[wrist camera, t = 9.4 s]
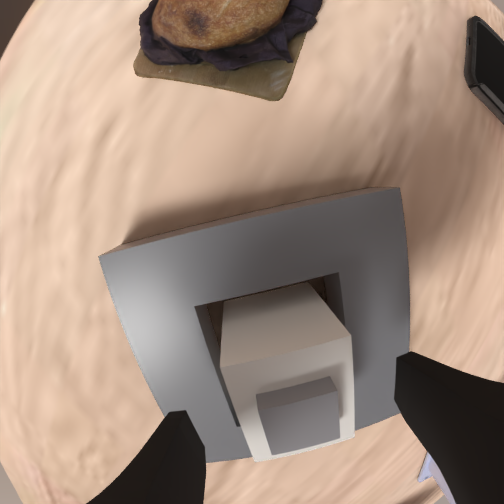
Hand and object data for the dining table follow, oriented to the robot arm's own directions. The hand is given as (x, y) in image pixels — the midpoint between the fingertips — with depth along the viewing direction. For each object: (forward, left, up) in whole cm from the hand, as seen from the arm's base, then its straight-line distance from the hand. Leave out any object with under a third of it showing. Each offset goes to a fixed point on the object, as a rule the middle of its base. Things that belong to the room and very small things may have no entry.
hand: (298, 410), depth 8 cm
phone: (-23, -11, -6) cm, 26 cm away
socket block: (0, 0, -6) cm, 6 cm away
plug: (0, 0, -6) cm, 6 cm away
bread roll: (-2, -17, -6) cm, 18 cm away
